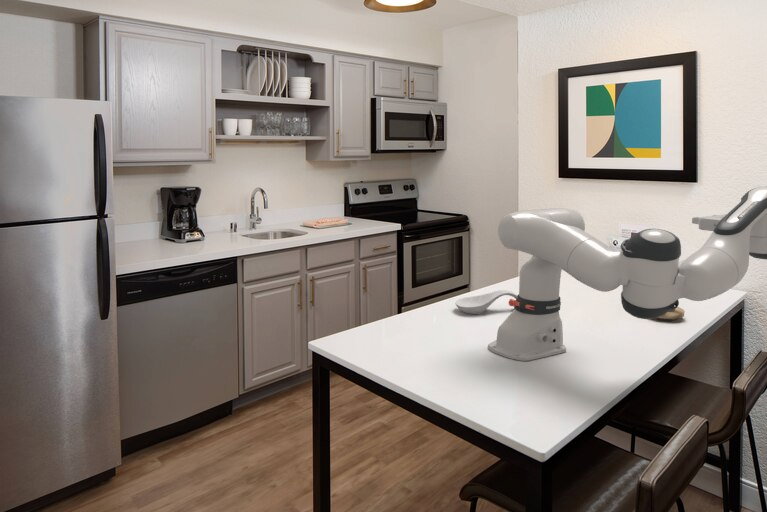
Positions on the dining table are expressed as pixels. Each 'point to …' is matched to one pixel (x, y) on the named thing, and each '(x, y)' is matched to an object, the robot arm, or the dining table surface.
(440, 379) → the dining table surface
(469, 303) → the spoon rest
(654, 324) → the dining table surface
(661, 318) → the turntable base
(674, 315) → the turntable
